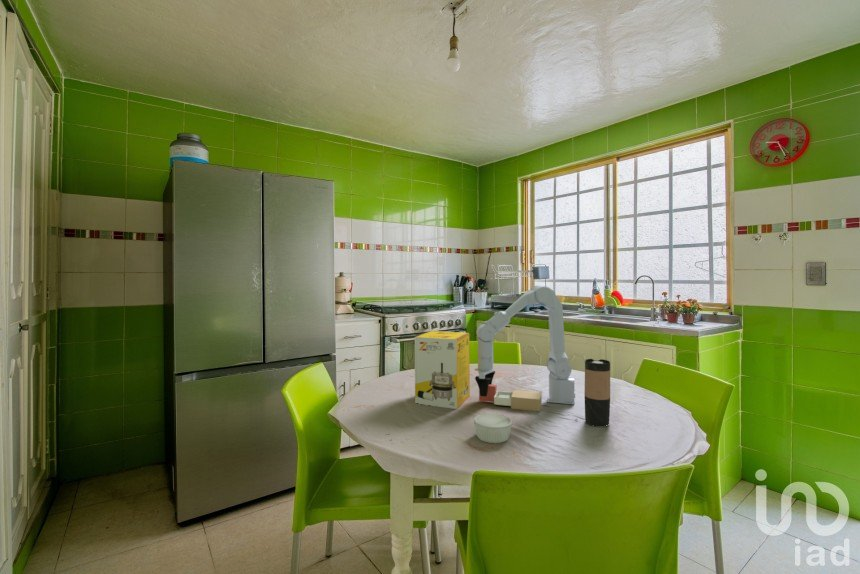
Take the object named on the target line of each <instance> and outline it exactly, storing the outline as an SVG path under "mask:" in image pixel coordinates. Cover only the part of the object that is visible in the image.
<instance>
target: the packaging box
mask: <svg viewBox="0 0 860 574" xmlns="http://www.w3.org/2000/svg"><path fill="white" fill-rule="evenodd" d="M470 372H471V371H470V333H469V332H459V331H458V332H457V331H437V330H430V331H427V332H424V333H422V334H419V335H417V336H414V400H415V401H414V404H415V403H419V404H418V405H420V404H426V405H425V406H428V405H431V406H430V407H436V406H437V408H444V409H446V408H447V409H453V410H457V409H459V407H460V406H461V405H462V404H463V403H464V402H465V401H466V400H468V398H469V397H470V395H471V394H470V390H471V389H470V388H471V387H470V386H471V385H470V379H471V378H470Z"/></svg>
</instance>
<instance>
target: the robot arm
mask: <svg viewBox="0 0 860 574" xmlns="http://www.w3.org/2000/svg"><path fill="white" fill-rule="evenodd" d="M537 304H540V305H541V306H542V307H544V308H545V309H546V310H547V311H548V330H549V342H550V343H549V345H550V346H549V347H550V348H549V349H550V350H549V353H548V358H547V359H548V360H547V362H546V367H547V370H548V372H549V374H548V395H547V403H555V404H565V405H575V399H576V393H575V378H574V377H570V376H571V374H572V367H571V365H570V362H569V357H568V356H567V353H566V348H565V347H566V346H565V345H566V343H565V327H564V325H565V324H564V309H563V304H562V302H561V300H560V299H559V298H558V296H557V295H556V292H555V291H554V290H553V289H552V288H550V287H548V286H541V285H534V286H533V287H531V288H530V289H528V290H526V291H525V292H523V294H522V295H521V296H519V298H518V299H516V300H515V301H514V302H513V303H512V304H510V305H509V306H508V307H507V309H505V310H504V311H503V310H500V311H495V312H494V313H493V316H492V317H490V318H489V319H488V320H485V321H484V322H483V323H484V324H481V325H479V326H478V327H477V329H476V332H475V333H476V336H477V337H478V338H477V367H474V371H477V372H478V375H476V376H475V377H474V380H475V382H476V383H477V386H478V392H479V391H480V395H481V396H485V397H486V396H487V392H488V385H489V384H492V383H493V379H494V376H495V373H496V371H495V370H494V343H493V342H494V339H495V337H496V334H498V333H499V332H501V331H502V330H503V329H504V328H505V327H506V326H508V325H509V324H510V323H511V318H512V317H514V316H515V315H516V314H517V313H519V312H520V311H521V310H523V309H524V308H526V307H527V306H530V305H537ZM492 385H493V384H492Z"/></svg>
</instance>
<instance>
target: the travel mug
mask: <svg viewBox="0 0 860 574" xmlns="http://www.w3.org/2000/svg"><path fill="white" fill-rule="evenodd" d="M610 409H611V361H610V360H607V359H599V360H595V359H593V358H587V359H585V360H584V421H585V423H586V424H587V425H589V424H590V425H589V426H592V425H594V426H593V427H596V426H606V425H608V424H609V425H610V416H611V415H610V413H611V411H610ZM609 425H608V426H609ZM606 427H607V426H606Z"/></svg>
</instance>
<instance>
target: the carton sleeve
mask: <svg viewBox="0 0 860 574" xmlns="http://www.w3.org/2000/svg"><path fill="white" fill-rule="evenodd" d="M512 392H513V394H512V396H511V406H510V409H512V410H519V411H521V410H524V411H531V412H532V411H533V412H541V408H542V404H543V403H542V395H543V393H542V391H532V390H531V391H530V390H520V389H513V391H512Z"/></svg>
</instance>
